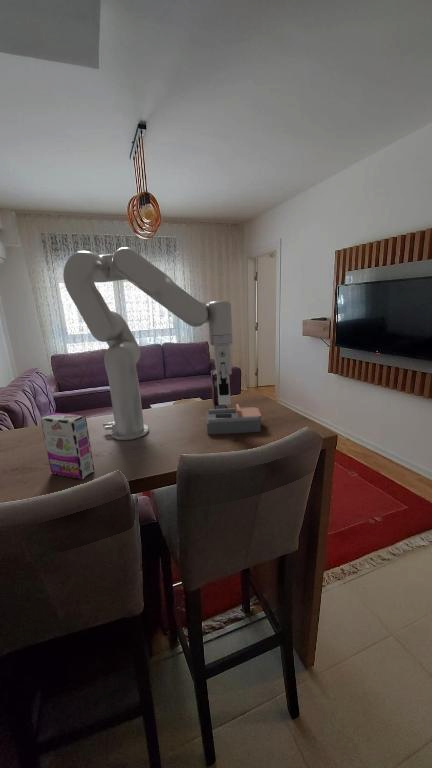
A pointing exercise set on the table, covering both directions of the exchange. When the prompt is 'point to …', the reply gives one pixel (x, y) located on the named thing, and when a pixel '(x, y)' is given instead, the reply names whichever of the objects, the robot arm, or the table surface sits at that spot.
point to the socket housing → (231, 422)
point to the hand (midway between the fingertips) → (223, 392)
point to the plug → (223, 398)
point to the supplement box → (215, 391)
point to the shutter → (247, 412)
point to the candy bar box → (68, 444)
